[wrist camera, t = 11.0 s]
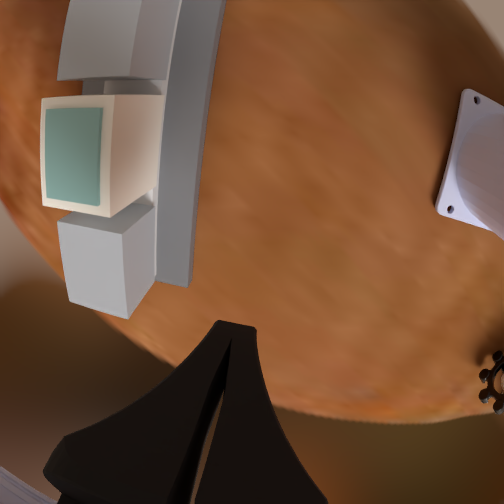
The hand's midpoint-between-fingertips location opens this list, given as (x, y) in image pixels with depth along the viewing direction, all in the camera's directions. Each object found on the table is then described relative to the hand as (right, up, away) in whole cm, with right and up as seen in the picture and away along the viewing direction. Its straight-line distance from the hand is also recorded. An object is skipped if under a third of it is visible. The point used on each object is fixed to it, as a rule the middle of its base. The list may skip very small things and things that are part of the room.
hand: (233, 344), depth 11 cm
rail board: (-6, +11, +6) cm, 14 cm away
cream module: (-6, +9, +5) cm, 12 cm away
